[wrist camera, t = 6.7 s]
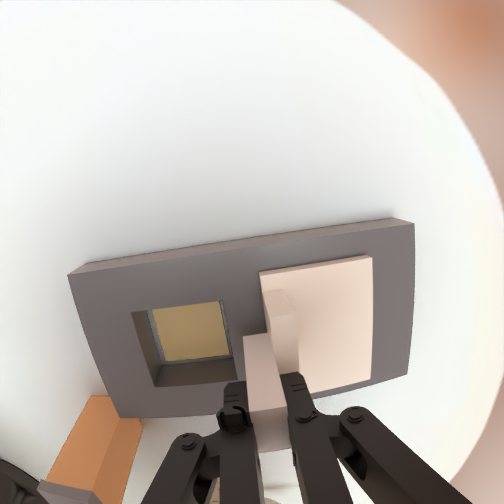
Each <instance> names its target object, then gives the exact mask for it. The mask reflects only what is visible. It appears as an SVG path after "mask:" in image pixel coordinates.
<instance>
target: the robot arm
mask: <svg viewBox="0 0 504 504" xmlns="http://www.w3.org/2000/svg"><path fill="white" fill-rule="evenodd" d="M243 345H244V357H245V369H246V380H245V381H238V382H230V383H227V385H226V386H225V388H224V397H223V402H224V403H223V407H222V408H221V409H220V410H219V411H218V412H217V415H216V417H217V420H218V424H219V427H220V429H219V430H218V431H217V432H216V433H214V434H211V435H209V436H206V437H203V438H202V437H201V436H200V435H199V434H195V433H186V434H182V435H180V436H179V437H177V438H176V439H175V440H174V442H173V443H172V445H171V447H170V449H169V451H168V453H167V455H166V457H165V459H164V461H163V463H162V464H161V466H160V468H159V470H158V472H157V474H156V476H155V478H154V480H153V481H152V483H151V485H150V487H149V489H148V491H147V493H146V495H145V496H144V498H143V500H142V502H141V504H209V503H210V500H211V497H212V494H213V491H214V488H215V485H216V482H217V478H219V477H220V498H219V504H265V499H264V491H263V483H262V475H261V467H260V460H259V456H258V453H264V452H271V451H277V450H283V449H289V448H292V454H293V464H294V466H295V469H296V473H297V478H298V482H299V487H300V491H301V495H302V500H303V504H353V501H352V498H351V496H350V493H349V490H348V487H347V485H346V482H345V479H344V476H343V474H342V471H341V468H340V466H339V463H338V460H337V458H338V459H339V461H340V462H341V463H342V464H343V466H344V467H345V468H346V469H347V471H348V472H349V473H350V474H351V476H352V477H353V478H354V479H355V481H356V482H357V483H358V484H359V485H360V487H361V488H362V489H363V490H364V491H365V493H366V494H367V495H368V496H369V497H370V499H371V500H372V501H373V502H374V503H375V504H472V503H471V502H470V501H469V500H468V499H466V498H465V497H464V496H463V495H462V494H461V493H460V492H458V491H457V490H456V489H455V488H454V487H452V485H450V484H449V483H448V482H447V481H446V480H445V479H444V478H442V477H441V476H440V475H439V474H438V473H437V472H436V471H434V470H433V469H432V468H431V467H430V466H429V465H428V464H427V463H425V462H424V461H423V460H422V459H421V458H420V457H419V456H418V455H417V454H415V453H414V452H413V451H412V450H411V449H410V448H409V447H408V446H407V445H406V444H404V443H403V442H402V441H401V440H400V439H399V438H398V437H397V436H396V435H395V434H394V433H393V432H391V431H390V430H389V429H388V428H387V427H386V426H385V425H384V424H383V423H382V422H381V421H380V420H379V419H377V418H376V417H375V416H374V415H373V414H372V413H371V412H370V411H369V410H367V409H366V408H364V407H360V406H353V407H349V408H346V409H345V410H343V411H342V413H341V414H340V415H325V414H322V413H320V412H319V411H318V410H317V409H316V408H315V406H314V403H313V401H312V398H311V395H310V392H309V390H308V387H307V384H306V381H305V379H304V376H303V375H301V374H300V373H299V372H298V371H297V372H291V373H286V374H280V375H279V372H278V368H277V364H276V360H275V356H274V352H273V348H272V344H271V340H270V336H269V333H263V334H256V335H249V336H243ZM38 485H39V482H37V481H36V480H35V479H33V478H32V477H30V476H29V475H27V474H26V473H24V472H23V471H21V470H20V469H18V468H16V467H15V466H13V465H11V464H9V463H7V462H5V461H3V460H0V504H49V503H48V501H47V500H46V499H45V498H44V497H43V496H42V495H41V494H40V493H39V492H38V491H37V490H36V489H37V487H38Z"/></svg>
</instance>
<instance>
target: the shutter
mask: <svg viewBox="0 0 504 504" xmlns="http://www.w3.org/2000/svg"><path fill="white" fill-rule="evenodd" d="M259 277H260V284H261V291H262V299H263V306H264V313H265V321H266V328H267V333H269V336H270V340H271V344H272V348H273V352H274V356H275V360H276V364H277V368H278V372H279V375H280V374H286V373H291V372H297V371H298V372H299V373H300V374H301V375H303V376H304V379H305V381H306V384H307V387H308V390H309V392H310V393H315V392H320V391H324V390H329V389H333V388H337V387H342V386H346V385H350V384H354V383H358V382H361V381H365V380H369V379H370V376H371V359H372V335H373V269H372V257H370V256H368V255H362V256H356V257H350V258H344V259H338V260H332V261H326V262H320V263H313V264H307V265H301V266H295V267H288V268H282V269H275V270H269V271H262V272H259Z"/></svg>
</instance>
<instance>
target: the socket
mask: <svg viewBox="0 0 504 504" xmlns="http://www.w3.org/2000/svg"><path fill="white" fill-rule="evenodd" d="M362 255H368V256H370V257H372V269H373V335H372V359H371V376H370V379H369V380H365V381H361V382H358V383H354V384H350V385H346V386H342V387H337V388H333V389H329V390H324V391H320V392H315V393H310V395H311V398H312V400H313V399H317V398H322V397H327V396H331V395H335V394H339V393H343V392H347V391H351V390H355V389H359V388H363V387H366V386H370V385H374V384H377V383H380V382H384V381H387V380H390V379H394V378H397V377H400V376H403V375H406V374H407V371H408V363H409V355H410V346H411V336H412V324H413V309H414V288H415V230H414V223H411V222H408V221H404V220H400V219H396V218H388V219H381V220H373V221H366V222H358V223H351V224H344V225H336V226H329V227H322V228H315V229H308V230H301V231H294V232H287V233H280V234H273V235H266V236H259V237H252V238H246V239H239V240H232V241H225V242H219V243H212V244H206V245H199V246H193V247H186V248H180V249H173V250H167V251H161V252H154V253H148V254H142V255H135V256H129V257H123V258H117V259H111V260H105V261H99V262H93V263H87V264H84V265H83V266H81V267H79V268H78V269H76V270H74V271H73V272H71V273H70V274H68V275H67V276H68V280H69V284H70V287H71V291H72V295H73V298H74V301H75V305H76V308H77V311H78V314H79V318H80V321H81V324H82V327H83V330H84V333H85V335H86V338H87V341H88V344H89V347H90V349H91V352H92V355H93V357H94V360H95V363H96V365H97V368H98V370H99V373H100V375H101V377H102V380H103V382H104V384H105V387H106V389H107V391H108V394H109V396H110V398H111V400H112V402H113V405H114V407H115V409H116V411H117V413H118V415H119V417H120V418H166V417H186V416H201V415H213V414H217V412H218V411H219V410H220V409H221V408H222V407H223V403H224V402H223V397H224V388H225V386H226V385H227V383H230V382H238V381H245V380H246V369H245V357H244V345H243V336H249V335H256V334H263V333H267V328H266V321H265V313H264V306H263V299H262V291H261V284H260V277H259V272H262V271H269V270H275V269H282V268H288V267H295V266H301V265H307V264H313V263H320V262H326V261H332V260H338V259H344V258H350V257H356V256H362ZM219 301H223V305H224V311H225V316H226V322H227V327H228V332H229V337H230V342H231V348H232V353H233V358H231V359H223V360H215V361H207V362H197V363H187V364H177V365H165V366H162V364H161V360H160V357H159V354H158V351H157V347H156V344H155V341H154V337H153V334H152V330H151V327H150V323H149V319H148V316H147V312H146V310H152V313H153V317H154V321H155V325H156V328H157V332H158V336H159V339H160V343H161V346H162V349H163V353H164V356H165V359H166V361H176V360H186V359H196V358H205V357H214V356H222V355H229V348H228V343H227V338H226V333H225V328H224V323H223V318H222V313H221V307H220V302H219Z"/></svg>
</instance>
